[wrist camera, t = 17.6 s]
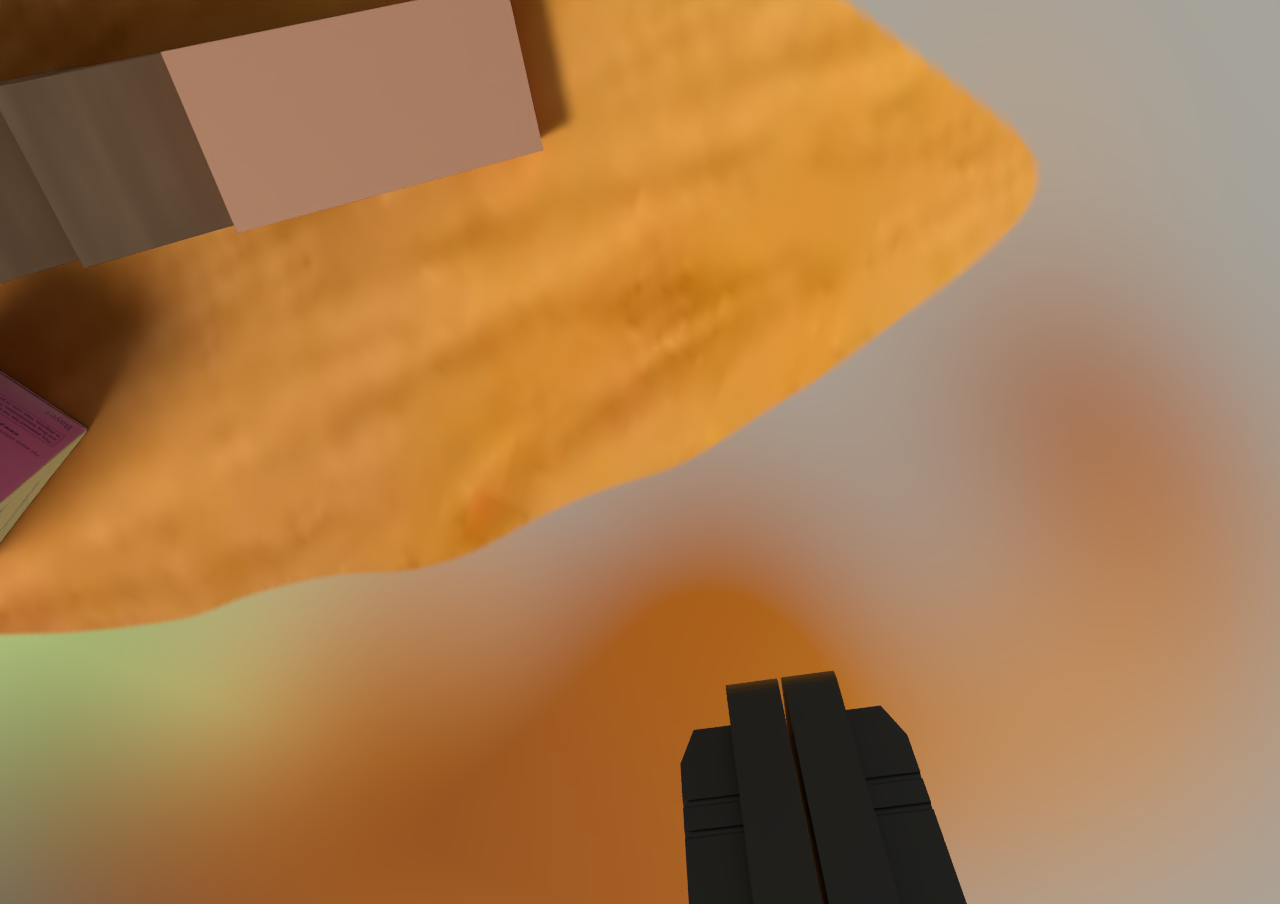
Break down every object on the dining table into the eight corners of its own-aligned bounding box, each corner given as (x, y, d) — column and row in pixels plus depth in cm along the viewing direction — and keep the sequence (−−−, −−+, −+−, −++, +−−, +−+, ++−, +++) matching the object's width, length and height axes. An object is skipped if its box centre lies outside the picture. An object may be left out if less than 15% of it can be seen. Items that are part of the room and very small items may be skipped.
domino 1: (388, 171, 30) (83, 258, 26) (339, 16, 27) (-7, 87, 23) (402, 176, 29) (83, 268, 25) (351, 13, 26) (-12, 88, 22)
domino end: (528, 144, 29) (235, 223, 26) (491, -16, 27) (162, 51, 24) (543, 150, 28) (237, 232, 25) (505, -19, 26) (160, 52, 23)
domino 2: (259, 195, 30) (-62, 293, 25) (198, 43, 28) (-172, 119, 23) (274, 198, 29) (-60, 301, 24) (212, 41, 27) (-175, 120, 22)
